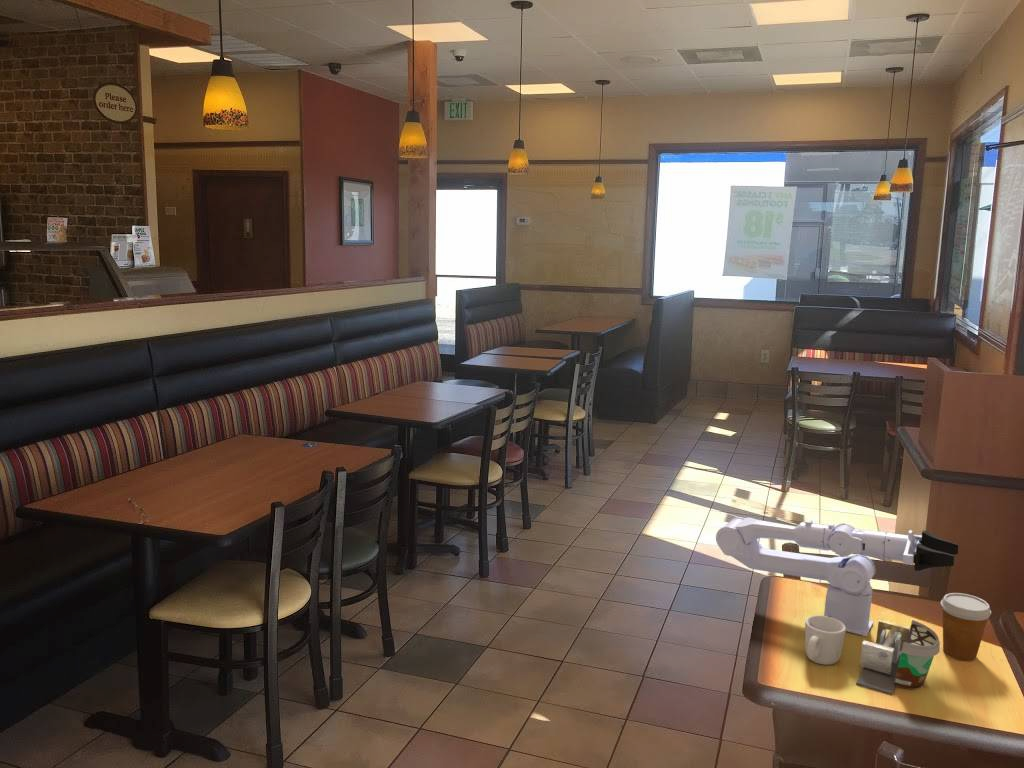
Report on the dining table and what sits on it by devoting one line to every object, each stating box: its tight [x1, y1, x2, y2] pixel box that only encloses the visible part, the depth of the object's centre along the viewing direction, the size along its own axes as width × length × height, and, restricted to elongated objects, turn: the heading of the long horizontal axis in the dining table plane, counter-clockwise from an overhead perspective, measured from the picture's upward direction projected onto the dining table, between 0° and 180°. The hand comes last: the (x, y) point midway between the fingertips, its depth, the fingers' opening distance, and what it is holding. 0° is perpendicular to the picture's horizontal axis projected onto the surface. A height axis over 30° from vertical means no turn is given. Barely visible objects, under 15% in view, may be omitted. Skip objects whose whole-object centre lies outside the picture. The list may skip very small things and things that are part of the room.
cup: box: [804, 615, 847, 666], centre depth 177 cm, size 11×8×8 cm
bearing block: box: [879, 629, 902, 663], centre depth 179 cm, size 4×4×6 cm
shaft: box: [859, 630, 899, 674], centre depth 178 cm, size 6×13×5 cm, turn 147°
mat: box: [855, 651, 901, 696], centre depth 176 cm, size 7×21×1 cm, turn 147°
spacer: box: [875, 619, 911, 652], centre depth 181 cm, size 6×1×5 cm, turn 57°
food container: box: [894, 619, 941, 690], centre depth 170 cm, size 12×6×10 cm, turn 148°
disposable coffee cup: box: [940, 592, 992, 662], centre depth 181 cm, size 10×10×12 cm
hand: (956, 554), depth 180 cm, fingers open, 7 cm apart
